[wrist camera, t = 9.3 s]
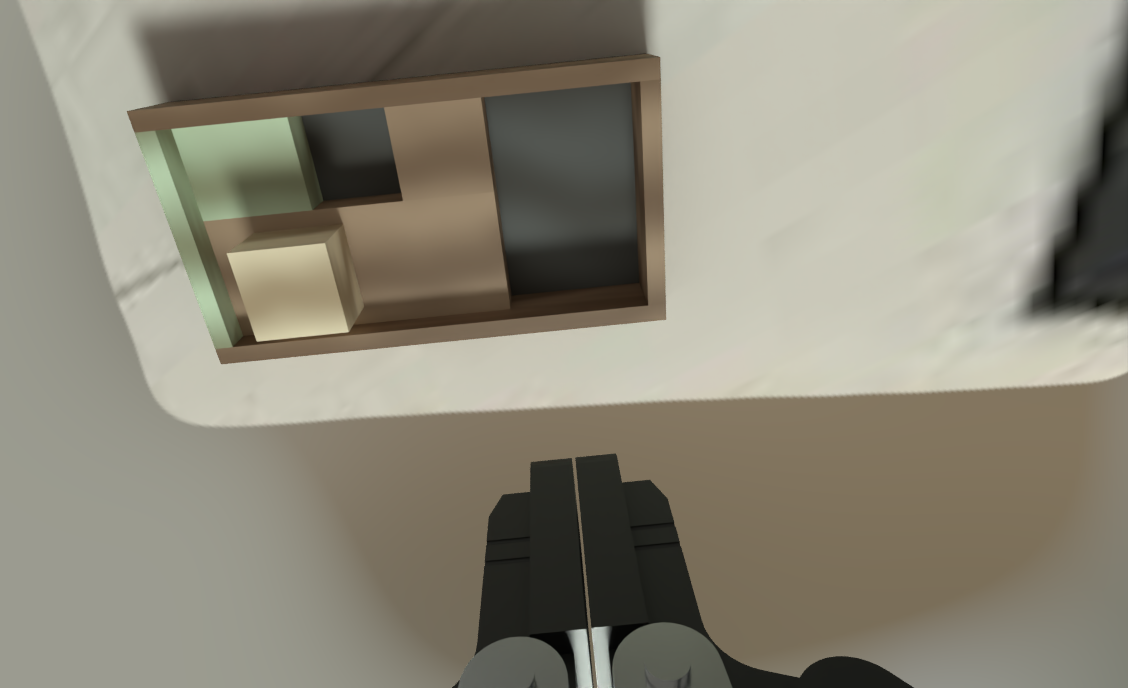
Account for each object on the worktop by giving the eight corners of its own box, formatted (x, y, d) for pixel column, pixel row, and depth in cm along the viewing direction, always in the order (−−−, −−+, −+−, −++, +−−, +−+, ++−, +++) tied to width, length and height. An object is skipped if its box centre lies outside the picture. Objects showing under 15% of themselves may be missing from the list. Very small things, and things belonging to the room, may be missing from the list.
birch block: (253, 233, 36) (226, 253, 33) (343, 223, 36) (324, 243, 33) (279, 315, 38) (256, 341, 35) (364, 306, 38) (348, 332, 35)
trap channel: (168, 102, 35) (126, 111, 31) (647, 53, 35) (660, 57, 31) (248, 334, 41) (221, 364, 38) (654, 293, 41) (666, 319, 38)
